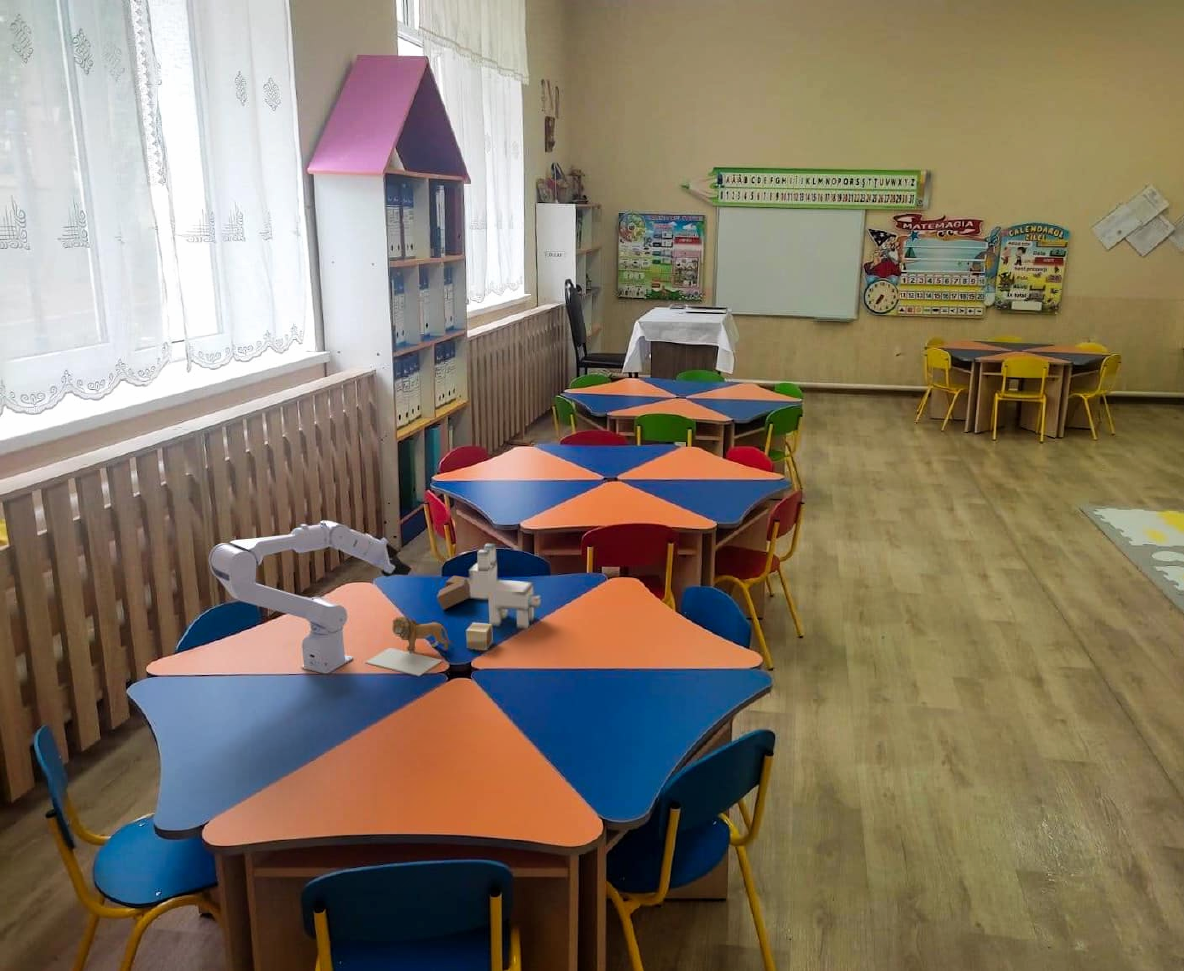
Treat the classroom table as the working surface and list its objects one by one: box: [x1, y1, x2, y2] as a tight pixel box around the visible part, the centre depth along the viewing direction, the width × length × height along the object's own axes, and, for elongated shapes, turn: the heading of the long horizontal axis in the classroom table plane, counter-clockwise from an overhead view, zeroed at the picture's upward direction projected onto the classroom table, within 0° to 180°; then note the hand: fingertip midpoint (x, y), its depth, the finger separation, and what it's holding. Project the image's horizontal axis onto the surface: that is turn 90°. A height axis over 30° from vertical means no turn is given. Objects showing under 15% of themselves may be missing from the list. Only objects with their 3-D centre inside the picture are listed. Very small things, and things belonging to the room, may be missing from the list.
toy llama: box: [468, 542, 541, 630], centre depth 253 cm, size 8×18×20 cm, turn 76°
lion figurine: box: [392, 616, 454, 653], centre depth 238 cm, size 15×5×9 cm, turn 107°
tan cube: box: [465, 622, 494, 651], centre depth 241 cm, size 5×5×5 cm
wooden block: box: [436, 575, 489, 610], centre depth 270 cm, size 8×13×18 cm
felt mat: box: [365, 647, 443, 677], centre depth 232 cm, size 9×16×1 cm, turn 62°
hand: (402, 563), depth 244 cm, fingers open, 7 cm apart
